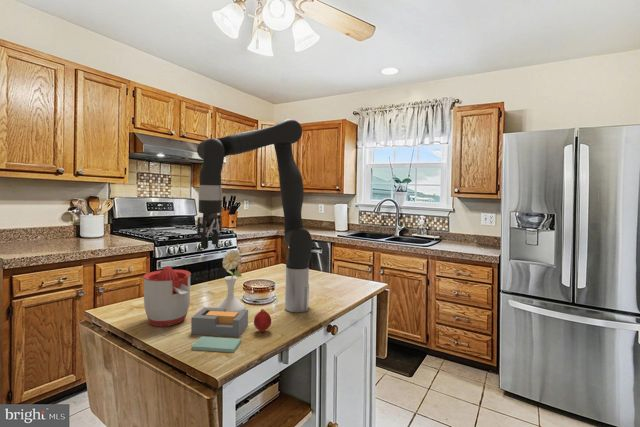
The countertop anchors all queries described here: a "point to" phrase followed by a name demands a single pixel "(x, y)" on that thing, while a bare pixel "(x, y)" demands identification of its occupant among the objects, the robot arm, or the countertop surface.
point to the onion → (262, 320)
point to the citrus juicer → (166, 296)
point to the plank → (223, 316)
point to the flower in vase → (231, 283)
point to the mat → (216, 344)
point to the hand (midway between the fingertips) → (210, 246)
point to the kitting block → (212, 327)
